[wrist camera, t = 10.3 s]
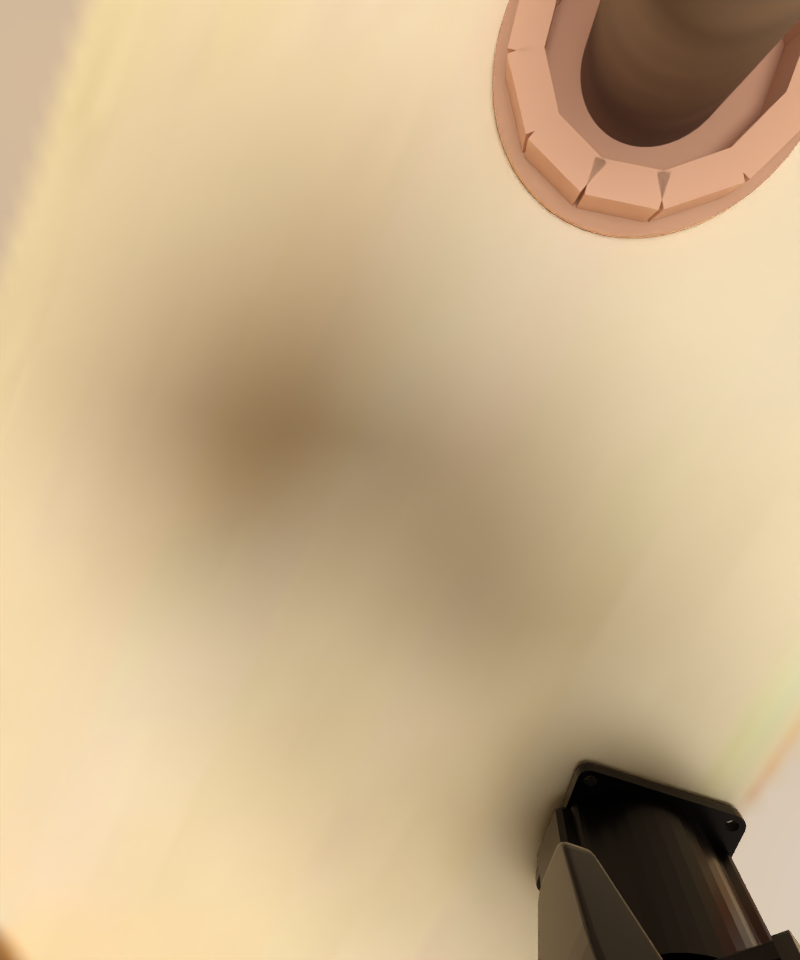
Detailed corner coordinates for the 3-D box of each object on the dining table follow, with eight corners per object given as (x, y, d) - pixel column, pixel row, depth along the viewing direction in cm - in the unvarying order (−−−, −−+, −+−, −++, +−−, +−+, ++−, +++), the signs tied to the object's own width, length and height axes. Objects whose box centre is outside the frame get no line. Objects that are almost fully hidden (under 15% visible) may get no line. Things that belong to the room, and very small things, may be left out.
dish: (891, -99, 14) (949, -164, 12) (752, 267, 17) (784, 256, 15) (544, -151, 15) (552, -218, 13) (459, 204, 17) (456, 186, 16)
